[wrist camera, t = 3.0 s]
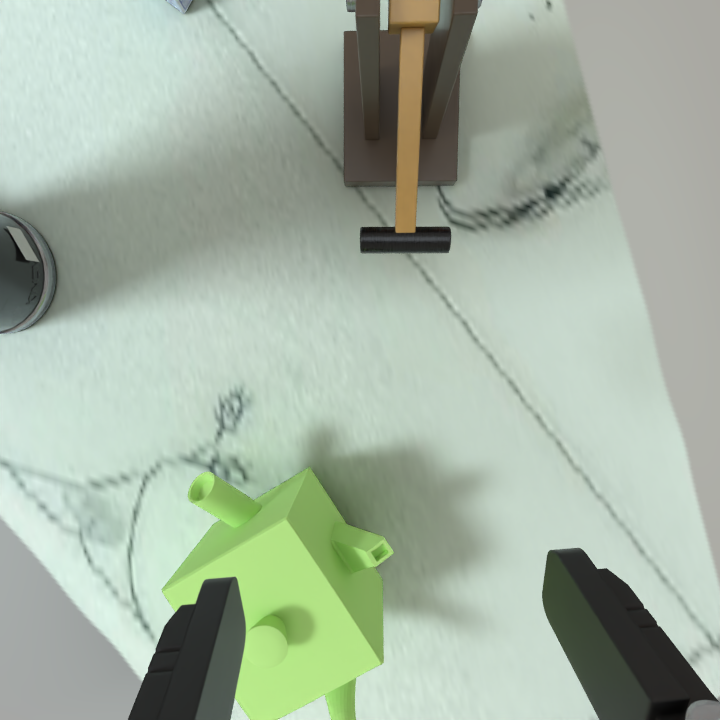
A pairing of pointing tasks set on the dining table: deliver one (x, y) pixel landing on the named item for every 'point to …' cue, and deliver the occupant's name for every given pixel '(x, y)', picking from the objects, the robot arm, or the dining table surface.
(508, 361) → the dining table surface
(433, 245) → the latch lever
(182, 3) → the medicine box
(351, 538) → the green spiked cube
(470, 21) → the latch bracket
